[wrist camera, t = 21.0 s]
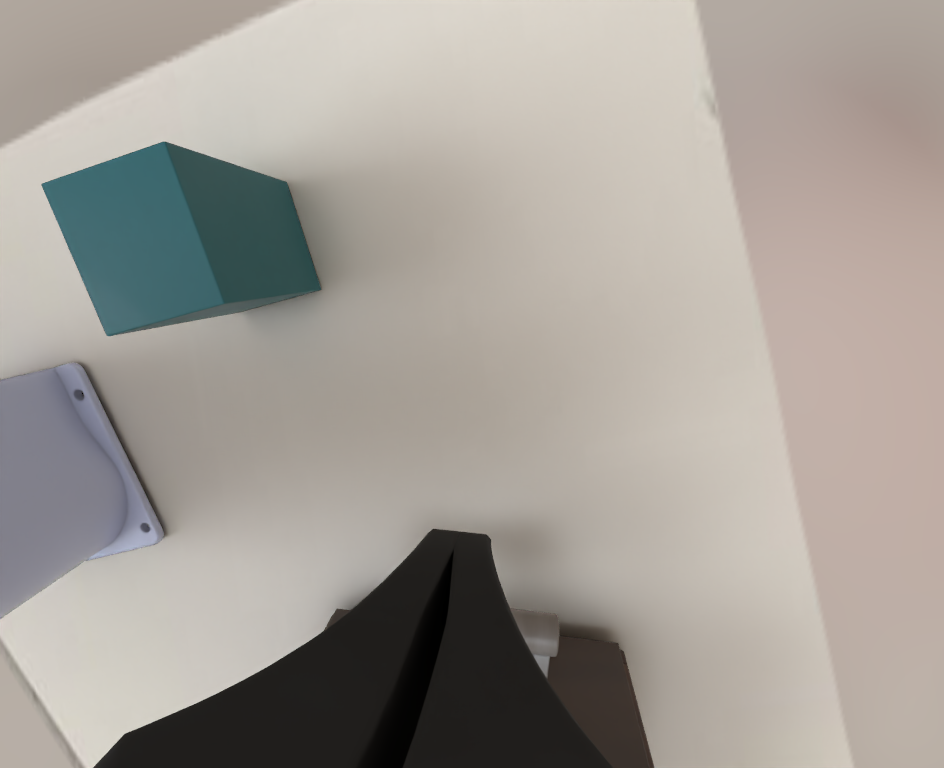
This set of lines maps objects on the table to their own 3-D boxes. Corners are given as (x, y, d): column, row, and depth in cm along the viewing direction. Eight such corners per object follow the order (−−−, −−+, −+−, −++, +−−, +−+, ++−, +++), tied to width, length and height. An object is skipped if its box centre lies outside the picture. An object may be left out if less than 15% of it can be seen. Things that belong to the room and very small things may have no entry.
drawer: (334, 529, 22) (270, 621, 16) (631, 561, 21) (672, 672, 15) (341, 812, 26) (292, 960, 21) (584, 851, 25) (602, 1018, 20)
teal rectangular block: (200, 209, 20) (39, 183, 13) (287, 181, 19) (164, 140, 12) (238, 312, 21) (106, 336, 14) (322, 289, 20) (224, 304, 13)
